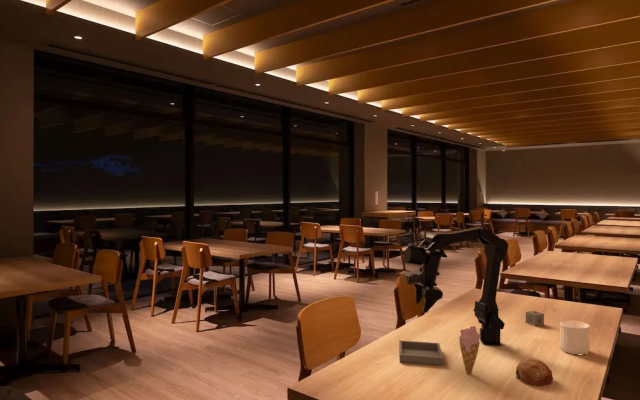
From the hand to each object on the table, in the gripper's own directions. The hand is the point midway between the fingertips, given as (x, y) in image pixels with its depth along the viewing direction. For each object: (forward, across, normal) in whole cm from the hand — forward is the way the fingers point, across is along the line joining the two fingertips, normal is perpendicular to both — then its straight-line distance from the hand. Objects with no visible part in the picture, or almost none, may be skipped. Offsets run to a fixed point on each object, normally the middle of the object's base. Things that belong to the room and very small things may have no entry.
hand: (420, 307), depth 158 cm
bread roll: (+6, +31, +28) cm, 42 cm away
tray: (+13, +11, -1) cm, 17 cm away
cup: (+3, +9, +56) cm, 56 cm away
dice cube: (+6, -22, +60) cm, 64 cm away
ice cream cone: (+10, +26, +10) cm, 29 cm away
